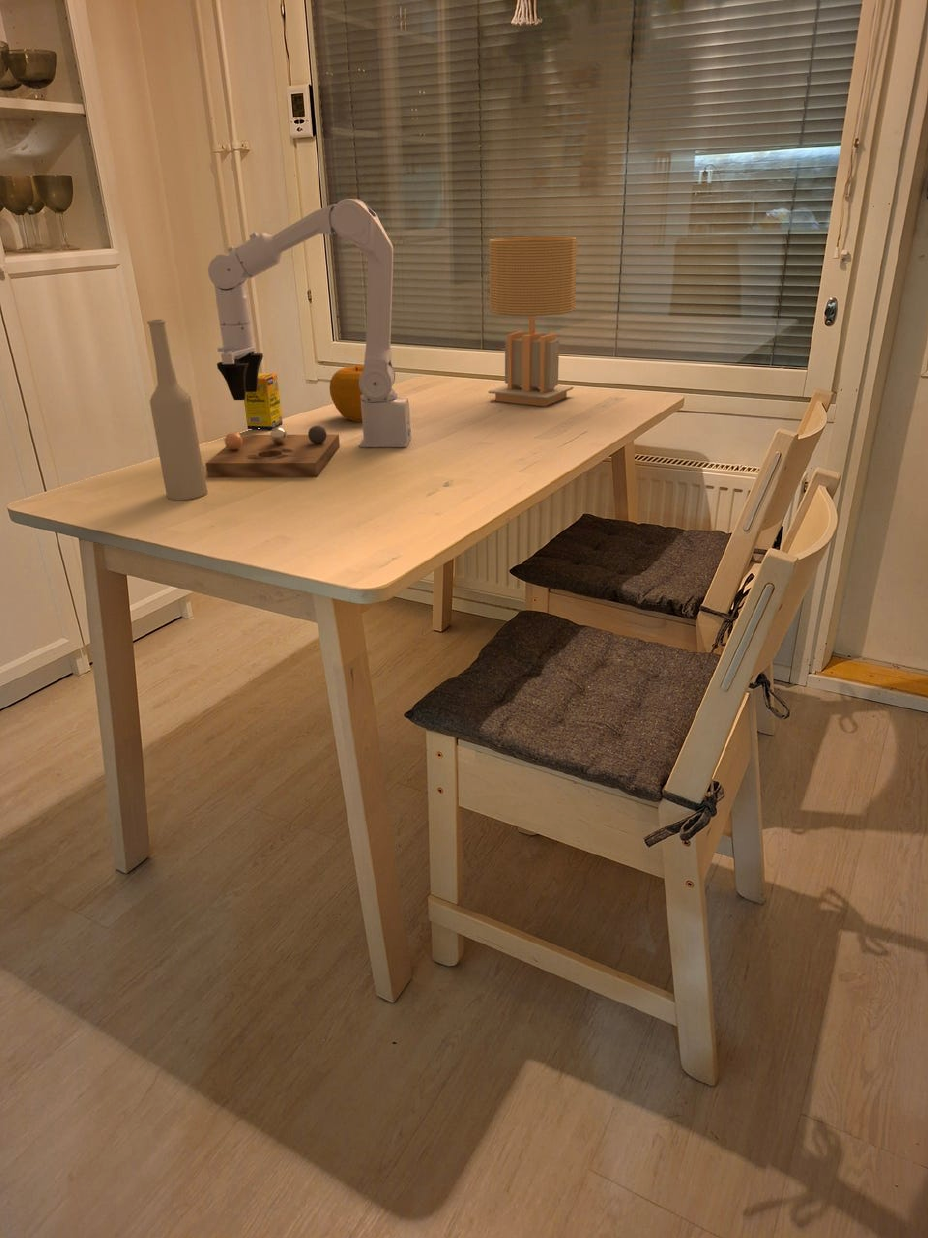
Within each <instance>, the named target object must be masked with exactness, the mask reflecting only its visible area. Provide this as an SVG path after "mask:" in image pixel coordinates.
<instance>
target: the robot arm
mask: <svg viewBox="0 0 928 1238" xmlns="http://www.w3.org/2000/svg"><path fill="white" fill-rule="evenodd" d="M319 234H320V235H333V234H334V235H335V234H338V236H340V237H342V238H343V239H345V240H346V241H348V242H350V243H351V244H354V245H355V246H356V248H357V249H358V250H359V251H360V252H361V253H362V254H363V255H364V256H365V257H366V259H367V276H366V277H367V278H366V279H367V281H366V282H367V283H366V284H367V286H366V324H365V325H366V329H365V332H366V333H365V335H366V336H365V337H366V339H365V352H364V359H363V361H364V362H363V365H364V370H363V372H362V374H361V376H360V378H359V388H360V390H361V392H362V395H361V396H360V398H361V411H362V422H361V423H362V435H363V437H362V439H361V440H360V442H359V444H358V446H359V447H360V448H402V447H403V448H406V447H407V446H408V444H409V442H410V440H411V438H412V435H411V434H412V433H411V419H410V416H411V415H410V403H409V400H408V398H405V397H398V393H397V392H396V391H395V389H394V388H392V387H393V385H394V383H395V381H396V372H395V368H394V366H393V363H392V350H391V349H392V348H391V341H392V340H391V339H392V338H391V336H392V313H393V310H392V309H393V308H392V305H393V281H394V280H393V279H394V278H393V276H394V253H395V252H394V245H393V243H392V241H391V240H390V238H389V236H388V235H387V233H386V231H385V229H384V227H383V225H382V223H381V222H380V220H379V217H378V215H377V213H376V212H375V211H374V210H373V209H372V208H371V207H370V206H369V205H368V204H367V203H365V202H364V201H362V200H360V199H355V198H351V199H349V198H347V199H343V200H340V201H338V202H337V203H336V204H330V205H326V206H324V207H321V208H319V209H316V210H314V211H312V212H311V213H309V214H307V215H306V216H304V217H302V218H301V219H298V220H297V221H296V222H294V223H292V224H290V225H289V226H288V227H285V228H284V229H282V230H280V231H278V233H275V234H274V235H271V234H268V233H266V232H261V233H258V232H253V233H251V234H249V236H248V237H249V239H248V240H246V241H244V242H242V243H241V244H239V245H237V246H236V247H234V245H232V246H229V247H227V252H228V253H222V254H217V255H215V257H214V258H213V259H212V260H211V261H210V262H209V265H208V268H207V273H208V277H209V280H210V281H211V282H212V284H213V285H214V291H215V302H216V308H217V315H218V322H219V327H220V328H219V329H220V333H221V334H220V336H221V340H222V346H219V347H217V352H218V353H220V355H221V361H219V362H217V363H216V366H217V370H219V372H220V373H221V375H222V376H223V378H224V380H225V383H226V384H227V387H228V389H229V392H230V395H231V397H232V399H233V401H244V400H245V396H246V392H256V391H257V386H258V373H260V368H261V363H262V360H263V357H264V355H263V352H257V348H256V346H257V344H256V341H254V339H253V331H252V322H251V317H250V309H249V302H248V300H249V299H248V296H247V291H246V284H245V282H246V280H247V279H252V278H254V277H256V276H258V275H259V274H262V273H263V272H265V271H267V270H269V269H270V268H271V269H272V267H274V266H276V265H278V264H279V263H280V261H281V259H282V254H283V252H285V251H287V250H290V249H291V248H293V247H295V246H298V245H299V244H302V243H304V242H305V241H307V240H309V239H311V238H313V237H315V236H317V235H319Z"/></svg>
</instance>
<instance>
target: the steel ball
mask: <svg viewBox="0 0 928 1238" xmlns="http://www.w3.org/2000/svg"><path fill="white" fill-rule="evenodd" d="M269 435H270V438H271V440H272V441H273V442H274V443H276V444H282V443H284V442H285V441H286V440H287V435H288V432H287V431H286V429H285V428H283V427H281V426H280V427H279V426H277V427H276V428H274V429H272V430H270V434H269Z"/></svg>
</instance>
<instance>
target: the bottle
mask: <svg viewBox="0 0 928 1238" xmlns="http://www.w3.org/2000/svg"><path fill="white" fill-rule="evenodd" d="M146 325H148V328H149V333H150V337H151V344H152V349H153V355H154V356H153V357H154V361H155V370H156V371H155V372H156V380H157V381H156V382H157V386H156V387H155V389H154V391H153V393H152V395H151V397H150V399H149V405H150V411H151V412H150V413H151V416H152V421H153V427H154V428H153V429H154V434H155V437H156V438H155V439H156V444H157V450H158V456H159V461H160V467H161V472H162V478H163V482H164V487H165V493H166V498H167V499H168V500H170V501H179V502H182V501H185V502H186V501H189V500H190V501H192V500H196V499H201V498H203V497H204V496H207V494H208V489H207V483H206V482H207V481H206V476H205V471H204V470H205V469H204V465H203V459H202V453H201V447H200V442H199V436H198V432H197V431H198V430H197V425H196V419H195V418H196V417H195V413H194V407H193V404H192V398H191V396H190V395H189V393H188V392H187V391H186V390H185V389H184V388H183V387H182V386H181V385H180V384H179V383H178V380H177V378H176V373H175V368H174V365H173V359H172V354H171V349H170V345H169V338H168V335H167V334H168V333H167V327H166V319H149V320H147V321H146Z"/></svg>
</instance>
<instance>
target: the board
mask: <svg viewBox="0 0 928 1238" xmlns="http://www.w3.org/2000/svg"><path fill="white" fill-rule="evenodd" d="M239 435H240V436H241V438H242V441H243V442H242V446H241V447H240V448H239V449H237V450H231V449H229V448H228V447H227V446H226V445H225V447H223V448H222V449H221V450H220V451H218V452H217V453H215V455H214V456H213V457H211V458H210V459H209V460H208V461H206V462H205V463H204V464H205V469H206V474H207V477H208V478H243V477H244V478H246V477H247V478H260V477H261V478H265V477H266V478H273V477H274V478H276V477H277V478H286V477H288V478H290V477H291V478H292V477H293V478H302V477H303V478H305V477H306V478H307V477H308V478H310V477H311V478H312V477H313V478H316V477H318V476H319V475H320V473H321V472H322V471H323V470H324V468H325V467H326V466H327V465H328V463H329V462H330V461H331V459H332V458H333V457H334V455H335V454H336V453H337V451H338V450H339V449H340V447H341V443H340V435H339V434H335V433H334V434H331V433H330V434H327V433H326V439H325V441H324V442H323V443H321V444H315V443H313V442H311V441H310V439H309V436H308V434H287V440H286V441H285V442H284V443H282V444H276V443H274V442H273V441H272V440H271V438H270V434H239Z"/></svg>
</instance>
